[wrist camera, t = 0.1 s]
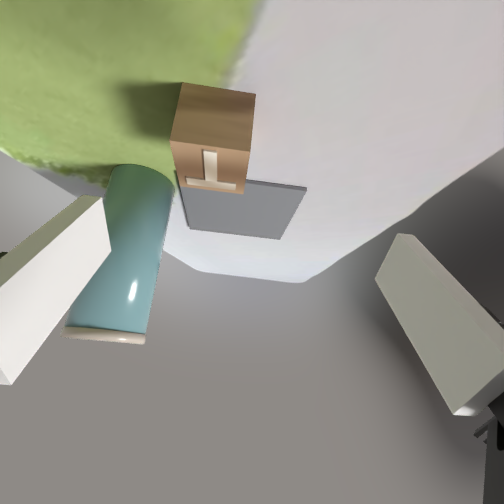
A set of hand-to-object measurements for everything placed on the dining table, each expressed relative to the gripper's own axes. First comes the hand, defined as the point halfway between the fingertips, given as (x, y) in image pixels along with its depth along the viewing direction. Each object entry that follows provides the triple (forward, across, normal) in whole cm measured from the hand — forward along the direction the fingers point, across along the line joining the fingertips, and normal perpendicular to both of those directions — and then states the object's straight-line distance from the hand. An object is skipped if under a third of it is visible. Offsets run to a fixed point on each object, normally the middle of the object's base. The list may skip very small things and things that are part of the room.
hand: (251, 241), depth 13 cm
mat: (+27, 0, -12) cm, 29 cm away
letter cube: (+17, -3, +2) cm, 18 cm away
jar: (+25, -13, -8) cm, 29 cm away
